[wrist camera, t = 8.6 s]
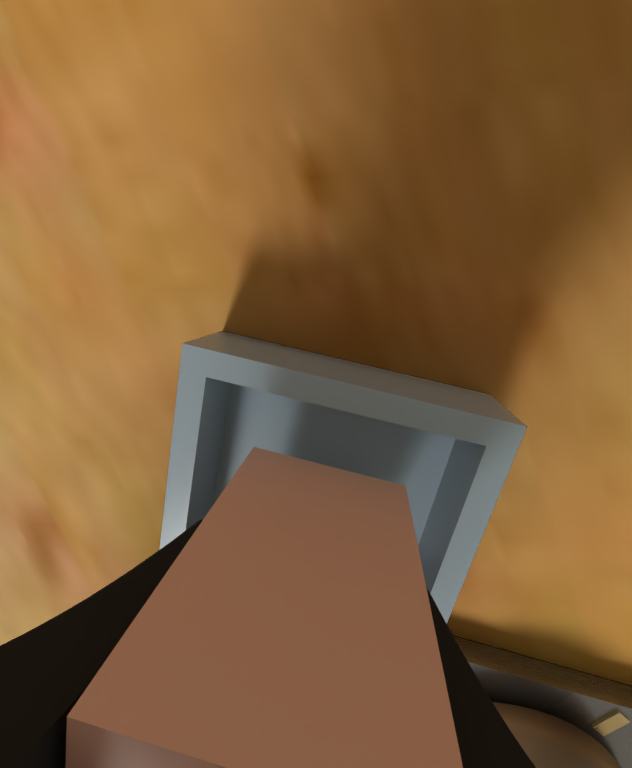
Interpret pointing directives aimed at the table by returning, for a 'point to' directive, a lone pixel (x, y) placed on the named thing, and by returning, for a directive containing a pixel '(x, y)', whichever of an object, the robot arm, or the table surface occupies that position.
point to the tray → (342, 440)
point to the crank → (554, 740)
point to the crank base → (557, 694)
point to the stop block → (279, 638)
